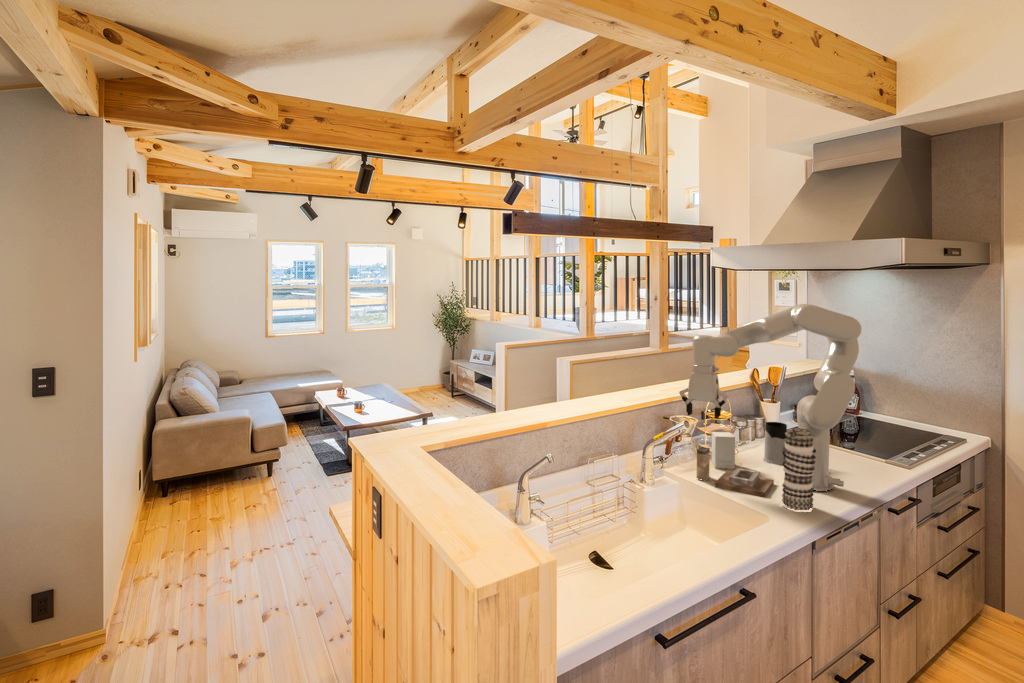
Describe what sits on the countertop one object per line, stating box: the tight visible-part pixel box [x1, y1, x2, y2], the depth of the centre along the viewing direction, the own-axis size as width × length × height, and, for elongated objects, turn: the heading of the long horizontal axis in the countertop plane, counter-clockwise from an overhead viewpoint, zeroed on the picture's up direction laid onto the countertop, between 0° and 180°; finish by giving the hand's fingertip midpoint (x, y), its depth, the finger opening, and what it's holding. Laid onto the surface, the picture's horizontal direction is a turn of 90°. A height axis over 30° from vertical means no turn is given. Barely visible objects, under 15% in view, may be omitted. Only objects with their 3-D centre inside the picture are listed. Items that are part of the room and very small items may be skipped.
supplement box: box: [711, 431, 736, 470], centre depth 198 cm, size 7×7×13 cm
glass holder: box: [762, 421, 788, 465], centre depth 201 cm, size 9×14×15 cm, turn 70°
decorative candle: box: [781, 427, 816, 510], centre depth 158 cm, size 9×9×25 cm
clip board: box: [714, 467, 775, 498], centre depth 178 cm, size 16×14×4 cm
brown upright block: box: [696, 446, 711, 481], centre depth 185 cm, size 3×5×11 cm, turn 142°
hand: (703, 416), depth 184 cm, fingers open, 9 cm apart
